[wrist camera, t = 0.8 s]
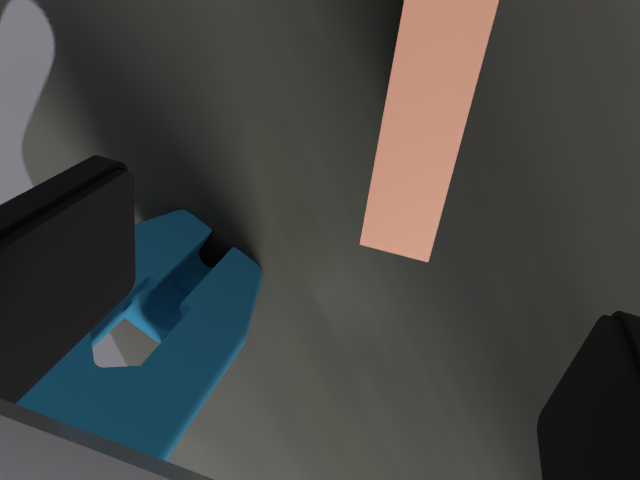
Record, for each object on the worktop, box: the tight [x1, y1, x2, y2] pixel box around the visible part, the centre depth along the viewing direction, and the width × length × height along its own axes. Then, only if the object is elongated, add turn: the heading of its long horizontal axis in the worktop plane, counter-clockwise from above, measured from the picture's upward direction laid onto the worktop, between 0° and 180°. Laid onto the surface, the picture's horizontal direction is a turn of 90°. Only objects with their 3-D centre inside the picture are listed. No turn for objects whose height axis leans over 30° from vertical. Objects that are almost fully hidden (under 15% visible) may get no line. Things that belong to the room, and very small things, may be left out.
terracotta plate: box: [360, 0, 499, 262], centre depth 24 cm, size 3×12×12 cm, turn 173°
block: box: [15, 209, 263, 461], centre depth 33 cm, size 12×5×20 cm, turn 56°
